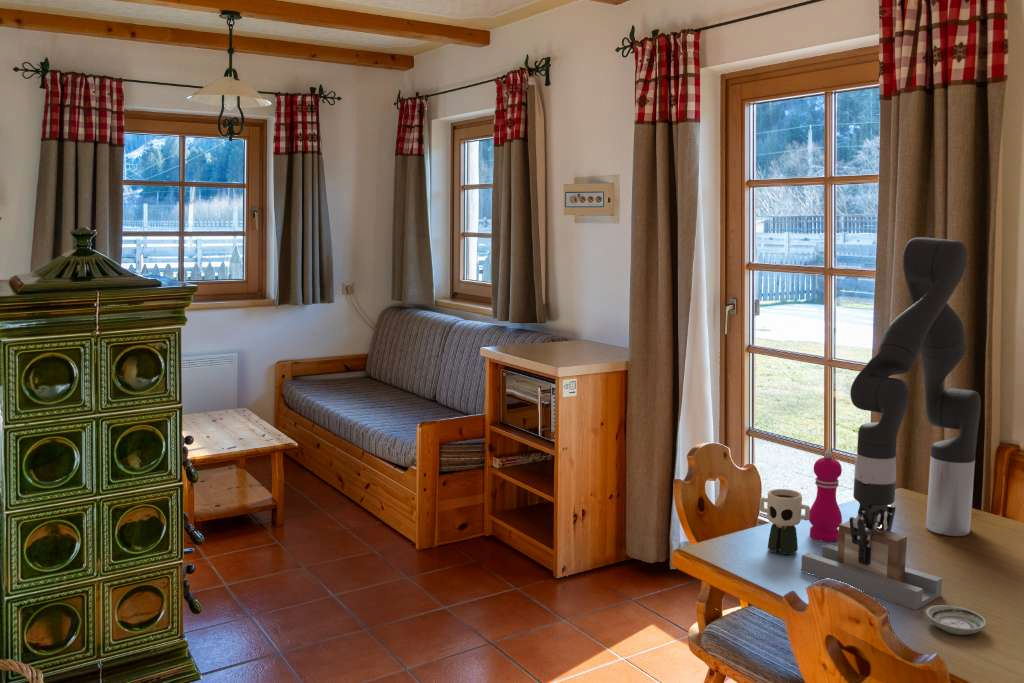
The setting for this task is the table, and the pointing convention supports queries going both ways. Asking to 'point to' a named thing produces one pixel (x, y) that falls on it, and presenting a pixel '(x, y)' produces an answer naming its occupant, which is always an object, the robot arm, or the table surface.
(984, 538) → the table surface
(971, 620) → the saucer
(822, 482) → the pepper mill
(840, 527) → the wooden framed block
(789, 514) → the character mug
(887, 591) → the picture ledge
